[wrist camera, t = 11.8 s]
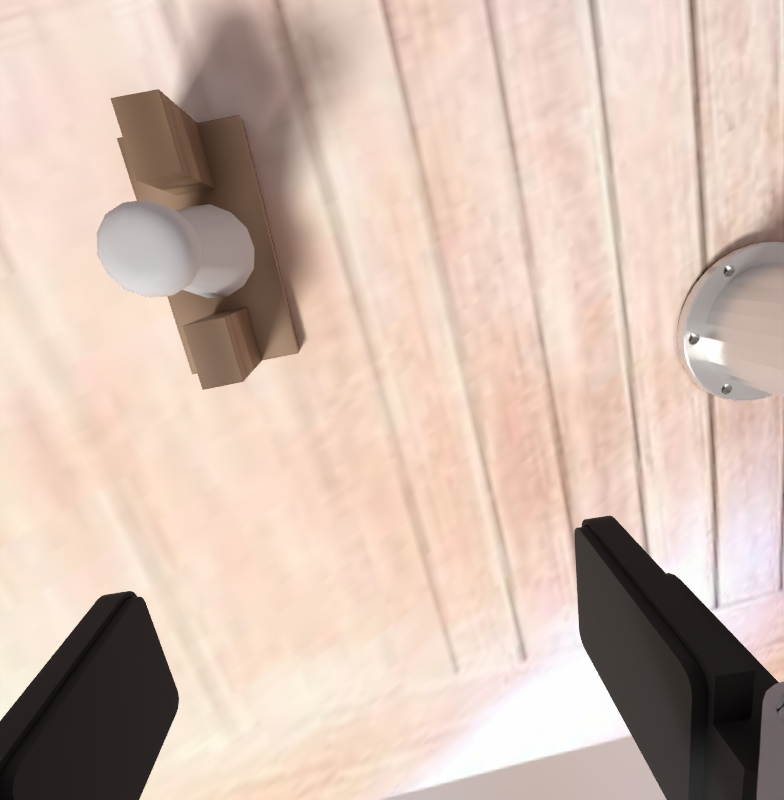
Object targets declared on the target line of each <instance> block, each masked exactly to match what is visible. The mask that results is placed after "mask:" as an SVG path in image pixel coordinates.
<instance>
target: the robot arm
mask: <svg viewBox="0 0 784 800" xmlns="http://www.w3.org/2000/svg"><path fill="white" fill-rule="evenodd" d="M677 345H678V352H679V357H680V360H681V362H682V365H683V368H684V370H685V371H686V373H687V374H688V376H689V377H690V379H691V380H692V381H693V382H694V383H695V384H696V385H698V386H699V387H700V388H701V389H703V390H705V391H706V392H708V393H710V394H712V395H715V396H717V397H720V398H723V399H727V400H733V401H753V400H758V399H763V398H766V397H769V396H771V395H777V396H780V397H783V398H784V242H762V243H756V244H751V245H747V246H745V247H742V248H740V249H737V250H735V251H732V252H731V253H729V254H728V255H726V256H724V257H723V258H721V259H720V260H718V261H717V262H716V263H715V264H714V265H712V266H711V267H710V268H709V269H708V270H707V271H706V272H705V273H704V274H703V275H702V277H701V278H700V279H699V280H698V281H697V283H696V284H695V285H694V287H693V289H692V290H691V292H690V294H689V295H688V297H687V299H686V302H685V304H684V307H683V309H682V312H681V315H680V320H679V324H678V332H677ZM575 553H576V573H577V593H578V614H579V631H580V636H581V640H582V643H583V646H584V648H585V650H586V652H587V654H588V655H589V657H590V659H591V661H592V663H593V665H594V666H595V668H596V670H597V672H598V674H599V676H600V678H601V679H602V681H603V683H604V685H605V687H606V689H607V690H608V692H609V694H610V696H611V698H612V700H613V701H614V703H615V705H616V707H617V709H618V711H619V712H620V714H621V716H622V718H623V720H624V722H625V724H626V725H627V727H628V729H629V731H630V733H631V735H632V736H633V738H634V740H635V742H636V743H637V746H638V747H639V749H640V751H641V753H642V755H643V757H644V759H645V760H646V762H647V764H648V766H649V768H650V770H651V771H652V773H653V775H654V777H655V779H656V781H657V782H658V784H659V786H660V788H661V790H662V792H663V793H664V795H665V797H666V799H667V800H784V682H781V683H779V682H778V681H777V680H776V679H775V678H774V677H773V676H772V675H771V674H770V673H769V672H768V671H767V670H766V669H765V668H764V667H763V666H762V665H761V664H760V663H759V661H758V660H757V659H756V658H755V657H754V656H753V655H752V654H751V653H750V652H749V651H748V650H747V649H746V648H745V647H744V646H743V645H742V644H741V643H740V642H739V641H738V640H737V638H736V637H735V636H734V635H733V634H732V633H731V632H730V631H729V630H728V629H727V628H726V627H725V626H724V625H723V624H722V623H721V622H720V621H719V620H718V619H717V618H716V616H715V615H714V614H713V613H712V612H711V611H710V610H709V609H708V608H707V607H706V606H705V605H704V604H703V603H702V602H701V601H700V600H699V599H698V598H697V597H696V596H695V595H694V593H693V592H692V591H691V590H690V589H689V588H688V587H687V586H686V585H685V584H684V583H683V582H682V581H681V580H680V579H679V578H678V577H676V576H675V575H673V574H670V573H667V574H666V573H665V572H664V571H663V570H662V569H661V568H660V567H659V566H658V565H657V564H656V562H655V561H654V560H653V559H652V558H651V557H650V556H649V555H648V554H647V553H646V552H645V551H644V550H643V548H642V547H641V546H640V545H639V544H638V543H637V542H636V541H635V540H634V539H633V538H632V537H631V536H630V534H629V533H628V532H627V531H626V530H625V529H624V528H623V527H622V526H621V525H620V524H619V523H618V522H617V520H616V519H615V518H613V517H612V516H605V517H598V518H592V519H586V520H584V521H583V522H582V527H580V528H576V529H575ZM178 703H179V696H178V691H177V688H176V685H175V683H174V680H173V677H172V674H171V672H170V669H169V666H168V663H167V661H166V658H165V655H164V652H163V650H162V647H161V644H160V641H159V639H158V636H157V633H156V630H155V628H154V625H153V622H152V619H151V617H150V614H149V611H148V608H147V606H146V603H145V601H144V599H143V598H142V597H137V596H136V594H135V593H134V592H131V591H127V592H121V593H115V594H108V595H104V596H101V597H100V598H99V599H98V600H97V601H96V602H95V604H94V605H93V606H92V607H91V609H90V610H89V611H88V612H87V614H86V615H85V616H84V617H83V619H82V620H81V621H80V622H79V624H78V625H77V626H76V627H75V629H74V630H73V631H72V632H71V634H70V635H69V636H68V637H67V639H66V640H65V641H64V642H63V644H62V645H61V646H60V647H59V649H58V650H57V651H56V652H55V654H54V655H53V656H52V657H51V659H50V660H49V661H48V662H47V664H46V665H45V666H44V667H43V669H42V670H41V671H40V672H39V673H38V675H37V676H36V677H35V678H34V680H33V681H32V682H31V683H30V685H29V686H28V687H27V688H26V690H25V691H24V692H23V693H22V695H21V696H20V697H19V698H18V700H17V701H16V702H15V703H14V705H13V706H12V707H11V708H10V710H9V711H8V712H7V713H6V715H5V716H4V717H3V718H2V720H1V721H0V800H139V799H140V796H141V794H142V792H143V789H144V787H145V785H146V782H147V780H148V778H149V775H150V773H151V771H152V768H153V766H154V764H155V761H156V759H157V757H158V754H159V752H160V750H161V747H162V745H163V743H164V740H165V738H166V736H167V733H168V731H169V729H170V727H171V724H172V722H173V720H174V717H175V715H176V712H177V709H178Z"/></svg>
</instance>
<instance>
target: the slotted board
mask: <svg viewBox="0 0 784 800" xmlns="http://www.w3.org/2000/svg"><path fill="white" fill-rule="evenodd" d="M111 101H112V104H113V107H114V110H115V114H116V117H117V120H118V123H119V126H120V129H121V132H122V136H123V137H121V138H117V140H118V143H119V146H120V149H121V152H122V155H123V159H124V162H125V165H126V168H127V171H128V174H129V177H130V180H131V184H132V187H133V190H134V193H135V196H136V199H137V201H143V200H152V201H154V202H157V203H159V204H162V205H165V206H167V207H170V208H172V209H174V210H176V211H178V210H181V209H184V208H187V207H190V206H199V205H208V204H211V205H213V206H216V207H218V208H221V209H223V210H226V211H228V212H231V213H232V214H233V215H234V216H235V217H236V218H237V219H238V220H239V221H240V222H241V223H242V224H243V225H244V226H245V227H246V228H247V230H248V232H249V235H250V238H251V240H252V243H253V246H254V248H255V249H254V269H253V271H252V273H251V274H250V276H249V278H248V279H247V281H246V283H245V284H244V286H243V287H241V288H240V289H238V290H237V291H235V292H234V293H232V294H231V295H229V296H226V297H215V298H206V297H203V296H200V295H197V294H194V293H191V292H188V291H185V290H181V291H179V292H178V293H176V294H174V295H172V296H168V299H169V303H170V306H171V309H172V312H173V315H174V318H175V321H176V324H177V328H178V331H179V334H180V337H181V340H182V343H183V346H184V349H185V353H186V356H187V359H188V362H189V365H190V368H191V371H192V374H196V373H198V376H199V379H200V383H201V386H202V389H203V390H204V389H209V388H214V387H219V386H224V385H229V384H234V383H239V382H243V381H244V380H245V379H246V378H247V376H248V375H249V374H250V373H251V372H252V371H253V370H254V369H255V368H256V366H257V365H258V364H259V363H260V362H261V361H262V360H266V359H271V358H276V357H281V356H286V355H291V354H296V353H299V351H300V350H299V346H298V342H297V338H296V334H295V330H294V326H293V322H292V318H291V314H290V310H289V306H288V302H287V298H286V294H285V290H284V286H283V282H282V278H281V274H280V269H279V265H278V261H277V257H276V253H275V249H274V245H273V241H272V237H271V233H270V229H269V225H268V221H267V217H266V213H265V209H264V205H263V201H262V197H261V193H260V189H259V185H258V181H257V177H256V173H255V168H254V164H253V160H252V156H251V152H250V148H249V144H248V140H247V136H246V132H245V128H244V124H243V120H242V118H241V117H240V116H239V115H238V116H233V117H227V118H222V119H217V120H211V121H206V122H201V123H196V122H195V121H194V120H193V119H192V118H191V117H190V116H188V115H187V114H186V113H185V112H184V111H183V110H182V109H180V108H179V107H178V106H177V105H176V104H175V103H173V102H172V101H171V100H170V99H169V98H168V97H167V96H165V95H164V94H163V93H162V92H161V91H160V90H159V89H158V90H152V91H147V92H142V93H136V94H131V95H126V96H120V97H115V98H111Z"/></svg>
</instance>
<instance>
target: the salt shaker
mask: <svg viewBox="0 0 784 800" xmlns="http://www.w3.org/2000/svg"><path fill="white" fill-rule="evenodd" d="M254 249H255V248H254V246H253V243H252V240H251V238H250V235H249V232H248V230H247V228H246V227H245V226H244V225H243V224H242V223H241V222H240V221H239V220H238V219H237V218H236V217H235V216H234V215H233V214H232V213H231V212H228V211H226V210H223V209H221V208H218V207H216V206H213V205H211V204H208V205H199V206H190V207H187V208H184V209H181V210H178V211H176V210H174V209H172V208H170V207H167V206H165V205H162V204H159V203H157V202H154V201H152V200H143V201H134V202H126V203H122V204H120V205H119V206H117V207H116V208H114V209H113V210H111V211H110V212H108V213H107V214H105V217H104V219H103V221H102V223H101V225H100V227H99V230H98V232H97V255H98V256H99V258H100V260H101V262H102V264H103V266H104V268H105V270H106V272H107V274H108V275H109V276H110V277H111V278H112V279H113V280H114V281H116V282H117V283H118V284H119V285H120V286H121V287H122V288H123V289H125V290H128V291H131V292H134V293H137V294H140V295H143V296H146V297H150V298H151V297H163V296H172V295H174V294H176V293H178V292H179V291H181V290H185V291H188V292H191V293H194V294H197V295H200V296H203V297H206V298H215V297H226V296H229V295H231V294H232V293H234V292H235V291H237V290H238V289H240V288H241V287H243V286H244V284H245V283H246V281H247V279H248V278H249V276H250V274H251V273H252V271H253V269H254Z"/></svg>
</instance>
